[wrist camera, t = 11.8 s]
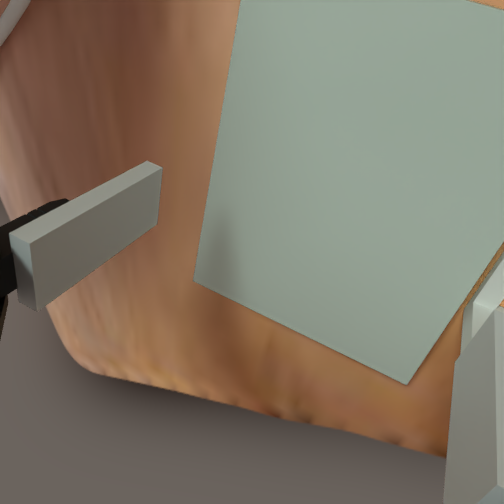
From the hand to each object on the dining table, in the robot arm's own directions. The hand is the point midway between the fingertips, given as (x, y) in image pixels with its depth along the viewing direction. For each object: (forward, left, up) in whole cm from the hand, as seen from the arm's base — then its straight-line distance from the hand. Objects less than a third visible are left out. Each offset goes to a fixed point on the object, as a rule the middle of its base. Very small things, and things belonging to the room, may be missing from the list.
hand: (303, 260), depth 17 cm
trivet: (0, 0, -7) cm, 7 cm away
